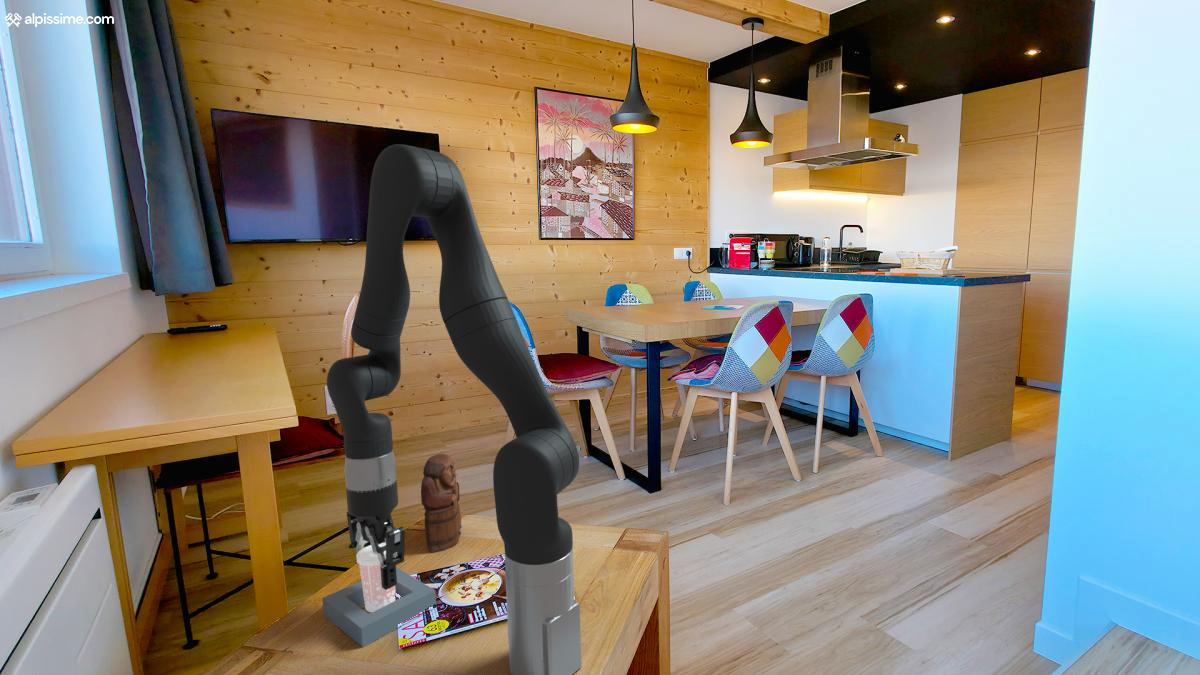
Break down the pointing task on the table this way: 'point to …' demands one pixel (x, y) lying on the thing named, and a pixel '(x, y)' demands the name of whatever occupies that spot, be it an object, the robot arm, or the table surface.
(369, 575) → the beverage cup
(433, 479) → the wooden figurine
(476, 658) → the table surface
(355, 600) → the hole plate
